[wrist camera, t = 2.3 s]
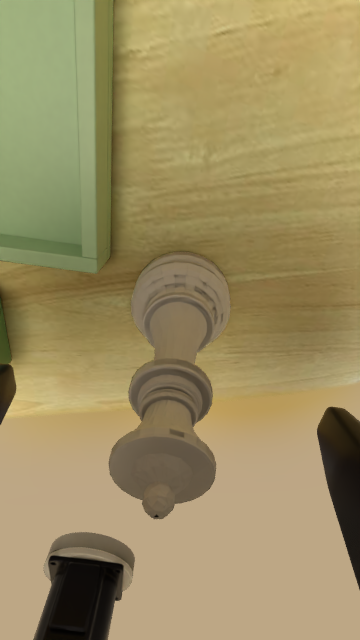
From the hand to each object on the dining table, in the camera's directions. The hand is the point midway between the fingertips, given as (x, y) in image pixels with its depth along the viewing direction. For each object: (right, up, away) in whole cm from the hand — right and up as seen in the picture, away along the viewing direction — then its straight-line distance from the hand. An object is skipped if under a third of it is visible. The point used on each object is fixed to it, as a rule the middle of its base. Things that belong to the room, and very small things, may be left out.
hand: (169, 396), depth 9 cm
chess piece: (0, +3, +6) cm, 7 cm away
